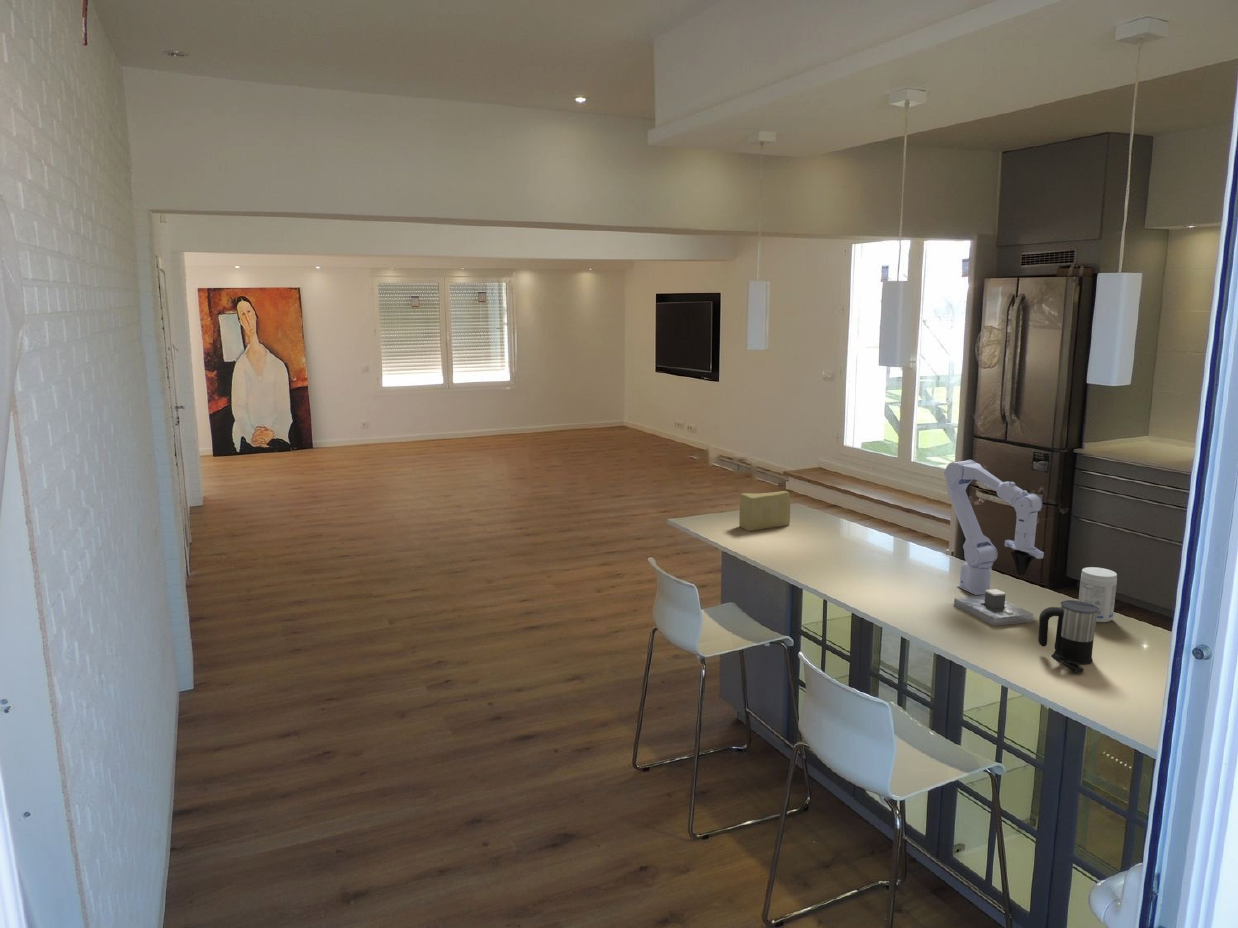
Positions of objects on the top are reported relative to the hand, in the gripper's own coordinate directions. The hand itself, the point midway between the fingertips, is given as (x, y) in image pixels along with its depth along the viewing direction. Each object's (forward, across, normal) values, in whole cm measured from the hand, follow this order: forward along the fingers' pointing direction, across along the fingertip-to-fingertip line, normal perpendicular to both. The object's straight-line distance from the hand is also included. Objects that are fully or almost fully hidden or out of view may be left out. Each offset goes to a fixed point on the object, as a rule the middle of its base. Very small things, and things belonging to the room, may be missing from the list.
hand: (1021, 574), depth 265 cm
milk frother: (+10, +41, -19) cm, 47 cm away
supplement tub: (+10, +16, +14) cm, 24 cm away
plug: (+9, +5, -14) cm, 17 cm away
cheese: (+10, -108, -36) cm, 114 cm away
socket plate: (+10, +5, -14) cm, 18 cm away
